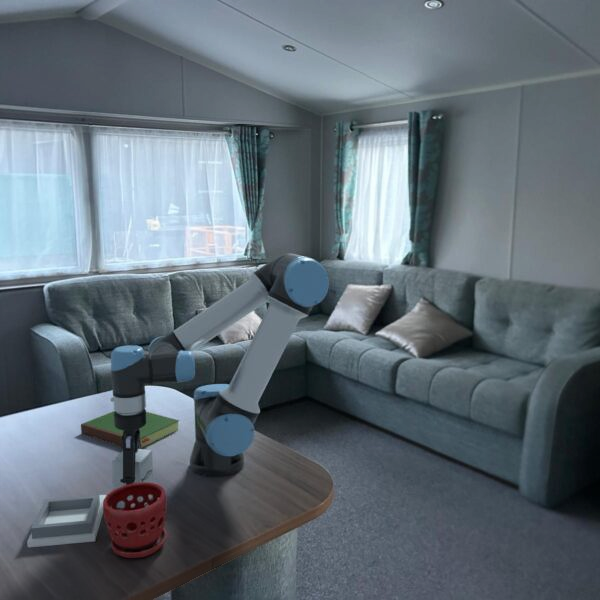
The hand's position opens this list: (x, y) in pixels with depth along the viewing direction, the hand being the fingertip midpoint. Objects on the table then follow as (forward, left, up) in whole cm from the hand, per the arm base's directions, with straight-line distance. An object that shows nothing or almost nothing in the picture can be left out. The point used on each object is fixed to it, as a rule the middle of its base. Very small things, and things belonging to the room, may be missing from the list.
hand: (134, 491), depth 148 cm
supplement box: (0, 0, -3) cm, 3 cm away
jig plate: (+14, +7, -3) cm, 16 cm away
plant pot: (-2, +19, -3) cm, 20 cm away
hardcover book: (+5, -45, -4) cm, 45 cm away
